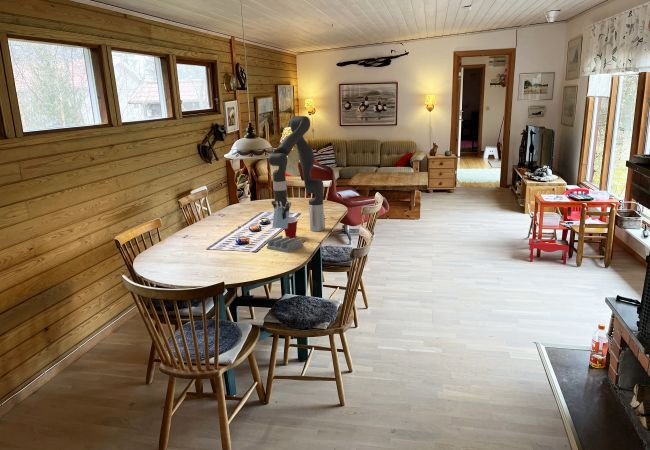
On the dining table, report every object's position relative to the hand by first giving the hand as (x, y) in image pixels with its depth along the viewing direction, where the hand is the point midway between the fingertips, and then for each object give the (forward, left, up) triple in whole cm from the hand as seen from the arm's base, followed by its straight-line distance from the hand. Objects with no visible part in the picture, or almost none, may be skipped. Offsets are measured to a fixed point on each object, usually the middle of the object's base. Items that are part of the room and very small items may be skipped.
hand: (282, 218), depth 271 cm
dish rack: (0, +1, -17) cm, 17 cm away
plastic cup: (-17, -9, -17) cm, 26 cm away
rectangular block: (+2, 0, -5) cm, 6 cm away
